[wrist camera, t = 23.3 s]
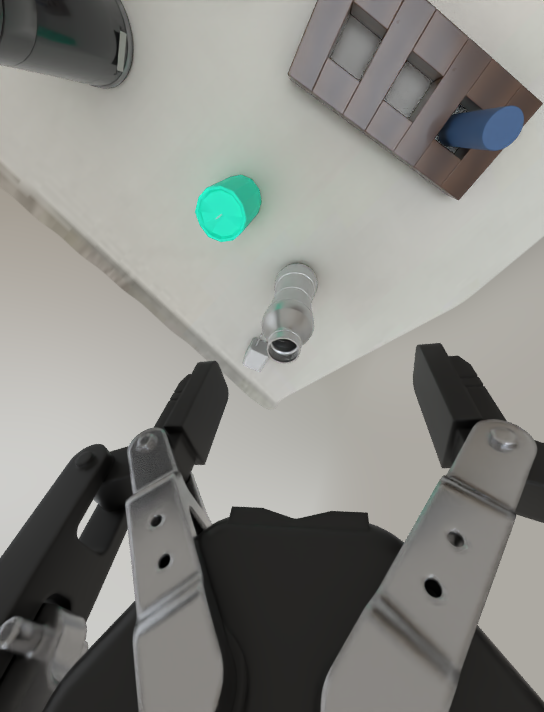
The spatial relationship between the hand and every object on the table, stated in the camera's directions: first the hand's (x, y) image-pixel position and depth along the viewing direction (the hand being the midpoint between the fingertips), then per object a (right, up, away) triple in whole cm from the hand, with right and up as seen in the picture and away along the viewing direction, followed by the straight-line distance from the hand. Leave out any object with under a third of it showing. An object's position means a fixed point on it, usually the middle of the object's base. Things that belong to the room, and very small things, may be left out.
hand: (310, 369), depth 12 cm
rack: (+13, +30, +20) cm, 39 cm away
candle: (-6, +23, +30) cm, 38 cm away
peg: (+20, +27, +22) cm, 40 cm away
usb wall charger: (-4, +3, +45) cm, 45 cm away
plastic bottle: (+3, +13, +36) cm, 38 cm away
